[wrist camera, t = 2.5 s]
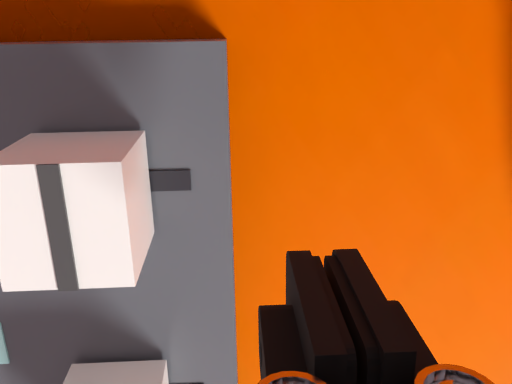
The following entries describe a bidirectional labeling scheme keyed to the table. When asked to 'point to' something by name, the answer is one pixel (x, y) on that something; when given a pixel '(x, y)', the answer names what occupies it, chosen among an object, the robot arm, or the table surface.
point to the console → (163, 206)
